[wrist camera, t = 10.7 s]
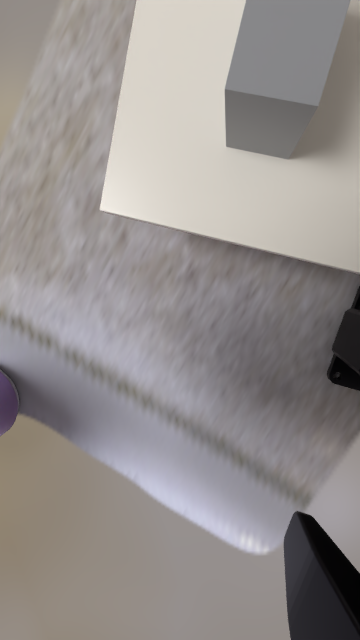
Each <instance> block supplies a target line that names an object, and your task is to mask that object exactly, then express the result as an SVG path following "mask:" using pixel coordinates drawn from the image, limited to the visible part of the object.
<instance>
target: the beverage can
mask: <svg viewBox="0 0 360 640" xmlns="http://www.w3.org/2000/svg"><path fill="white" fill-rule="evenodd" d="M18 410H19V396H18V392H17V389H16V387H15V385H14V383H13V382H12V380H11V379H10V378H9V377H8V376H7V375H6V374H5V373H4V372H3V371H1V370H0V436H1V435H3V434H4V433H5V432H6V431H8V430H9V429H10V428H11V427H12V425H13V424H14V422H15V419H16V416H17V414H18Z"/></svg>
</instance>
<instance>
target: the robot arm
mask: <svg viewBox="0 0 360 640" xmlns="http://www.w3.org/2000/svg"><path fill="white" fill-rule="evenodd" d="M332 350H333V352H334V355H333V358H332V361H331V363H330V366H329V369H328V371H327V376H328V378H329V379H330V381H331V382H332V383H334V384H338V385H341V386H345V387H348V388H352V389H355V390H359V391H360V286H359V289H358V291H357V294H356V297H355V299H354V302H353V305H352V307H351V308H350V309H348V310H347V311H346V312H345V314H344V317H343V319H342V322H341V325H340V328H339V330H338V333H337V336H336V338H335V341H334V344H333V346H332ZM337 372H339V373H340V376H339V377H337V378H334V377H333V375H334V374H335V373H337ZM284 558H285V579H286V597H287V612H288V622H289V630H290V637H291V640H360V573H359V572H358V571H357V570H356V568H355V567H354V566H353V565H352V564H351V562H350V561H349V560H348V559H347V558H346V556H345V555H344V554H343V553H342V551H341V550H340V549H339V548H338V547H337V545H336V544H335V543H334V542H333V541H332V539H331V538H330V537H329V536H328V535H327V533H326V532H325V531H324V530H323V529H322V527H321V526H320V525H319V524H318V522H317V521H316V520H315V519H314V518H313V517H312V516H311V515H308V514H305V513H302V512H299V511H296V512H295V513H294V514H293V516H292V519H291V521H290V524H289V526H288V529H287V531H286V534H285V537H284Z"/></svg>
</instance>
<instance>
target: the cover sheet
mask: <svg viewBox="0 0 360 640" xmlns="http://www.w3.org/2000/svg"><path fill="white" fill-rule="evenodd" d="M100 210H101V211H103V212H106V213H108V214H112V215H116V216H120V217H124V218H128V219H132V220H136V221H140V222H145V223H149V224H153V225H157V226H161V227H165V228H169V229H174V230H178V231H182V232H186V233H190V234H194V235H198V236H202V237H207V238H211V239H215V240H219V241H223V242H227V243H231V244H235V245H240V246H244V247H248V248H252V249H256V250H260V251H264V252H268V253H273V254H277V255H281V256H285V257H289V258H293V259H297V260H301V261H306V262H310V263H314V264H318V265H322V266H326V267H330V268H335V269H339V270H343V271H347V272H351V273H355V274H359V275H360V0H137V1H136V7H135V13H134V18H133V24H132V30H131V35H130V41H129V47H128V52H127V58H126V64H125V69H124V75H123V81H122V86H121V92H120V98H119V103H118V109H117V115H116V120H115V126H114V132H113V137H112V143H111V149H110V154H109V160H108V166H107V171H106V177H105V183H104V188H103V194H102V200H101V205H100Z"/></svg>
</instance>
